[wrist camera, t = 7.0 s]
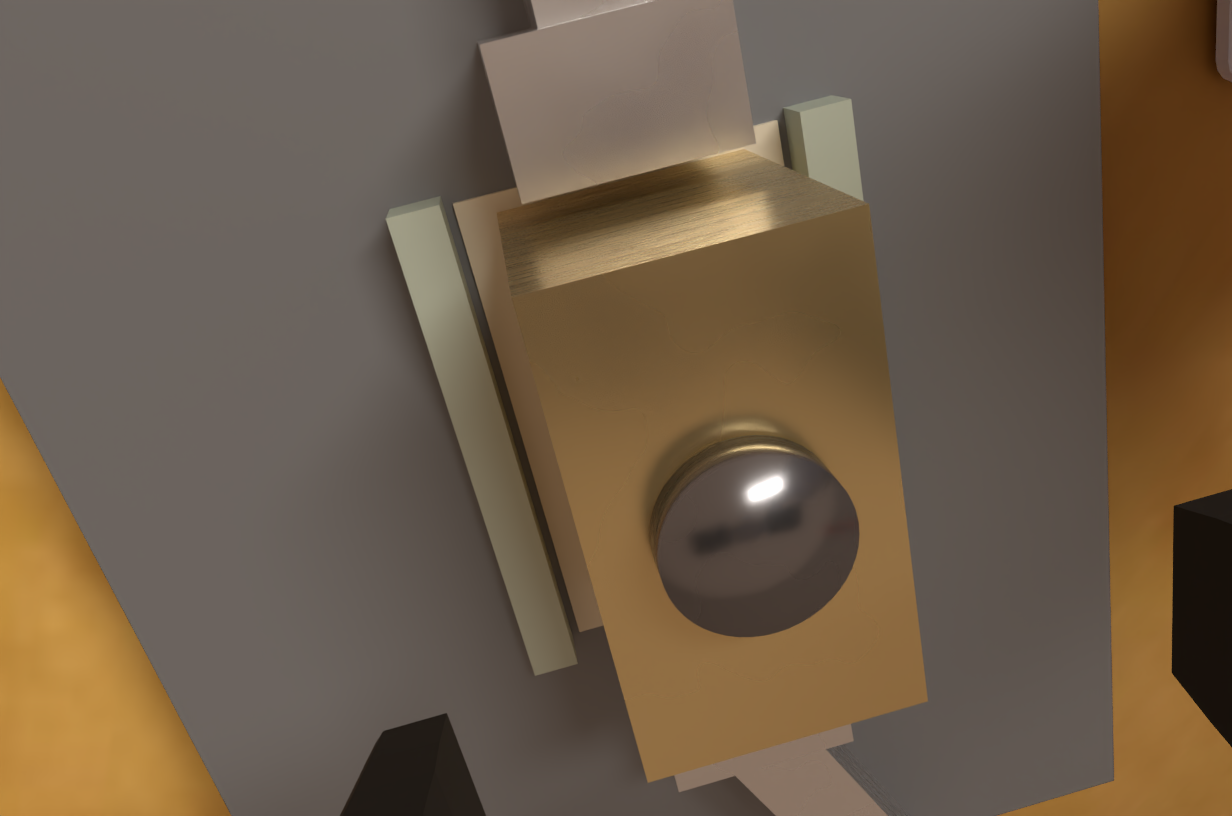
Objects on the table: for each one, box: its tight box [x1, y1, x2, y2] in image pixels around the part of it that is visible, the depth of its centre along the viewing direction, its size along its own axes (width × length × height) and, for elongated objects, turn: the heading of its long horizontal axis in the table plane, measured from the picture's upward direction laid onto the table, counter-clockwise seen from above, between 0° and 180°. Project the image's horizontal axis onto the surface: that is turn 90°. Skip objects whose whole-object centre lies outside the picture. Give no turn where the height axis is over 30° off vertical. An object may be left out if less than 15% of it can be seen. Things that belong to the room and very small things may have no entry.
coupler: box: [497, 149, 928, 783], centre depth 14 cm, size 7×4×6 cm, turn 13°
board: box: [0, 0, 1114, 816], centre depth 17 cm, size 18×24×2 cm
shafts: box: [477, 0, 910, 816], centre depth 15 cm, size 5×24×2 cm, turn 13°
